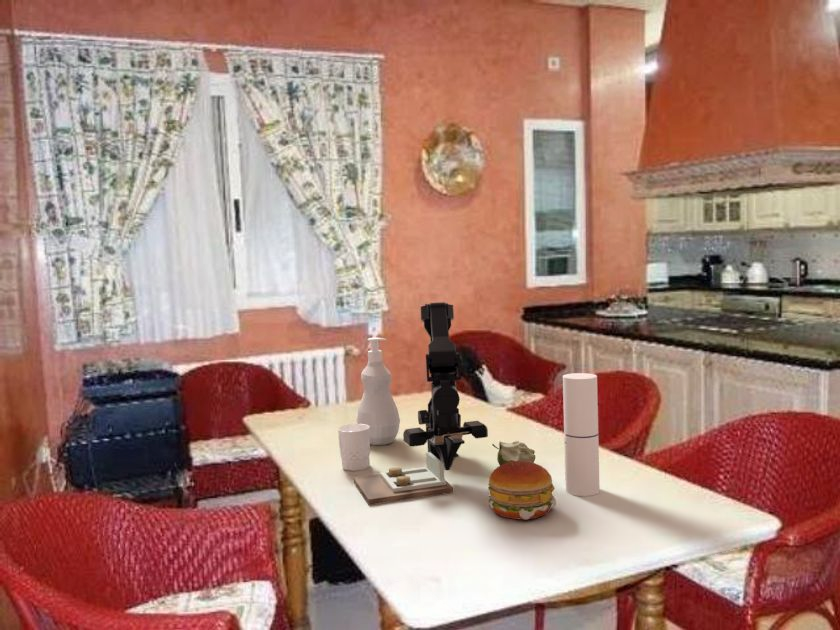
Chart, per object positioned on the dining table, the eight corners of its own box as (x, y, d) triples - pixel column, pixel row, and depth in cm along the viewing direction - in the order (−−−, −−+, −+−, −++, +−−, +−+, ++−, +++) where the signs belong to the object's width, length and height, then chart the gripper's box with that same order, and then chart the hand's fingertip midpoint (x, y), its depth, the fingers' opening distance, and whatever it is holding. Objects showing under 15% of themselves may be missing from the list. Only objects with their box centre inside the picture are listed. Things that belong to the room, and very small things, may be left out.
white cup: (366, 472, 173) (364, 431, 172) (335, 471, 175) (333, 431, 174) (375, 462, 181) (373, 423, 180) (345, 461, 183) (343, 423, 182)
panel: (429, 469, 169) (428, 451, 168) (445, 484, 157) (445, 464, 157) (380, 476, 165) (379, 457, 165) (393, 492, 154) (392, 471, 153)
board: (431, 472, 171) (430, 458, 171) (453, 492, 156) (452, 477, 155) (353, 482, 166) (352, 468, 165) (368, 505, 150) (367, 489, 150)
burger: (486, 501, 150) (484, 454, 149) (551, 499, 149) (549, 452, 149) (490, 525, 137) (488, 474, 136) (561, 523, 136) (560, 472, 135)
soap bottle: (409, 445, 195) (404, 339, 193) (369, 451, 191) (363, 343, 189) (388, 432, 211) (383, 333, 208) (351, 437, 207) (345, 337, 204)
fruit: (490, 477, 170) (486, 443, 170) (512, 470, 177) (508, 438, 177) (523, 476, 164) (518, 441, 164) (544, 469, 171) (539, 435, 171)
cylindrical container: (580, 498, 149) (577, 380, 147) (558, 489, 155) (555, 375, 153) (606, 491, 152) (604, 376, 150) (584, 483, 158) (581, 371, 156)
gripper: (469, 392, 173) (472, 455, 174) (395, 400, 167) (398, 465, 168) (487, 401, 162) (489, 468, 163) (408, 410, 156) (412, 479, 158)
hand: (447, 469), depth 163 cm, fingers closed
